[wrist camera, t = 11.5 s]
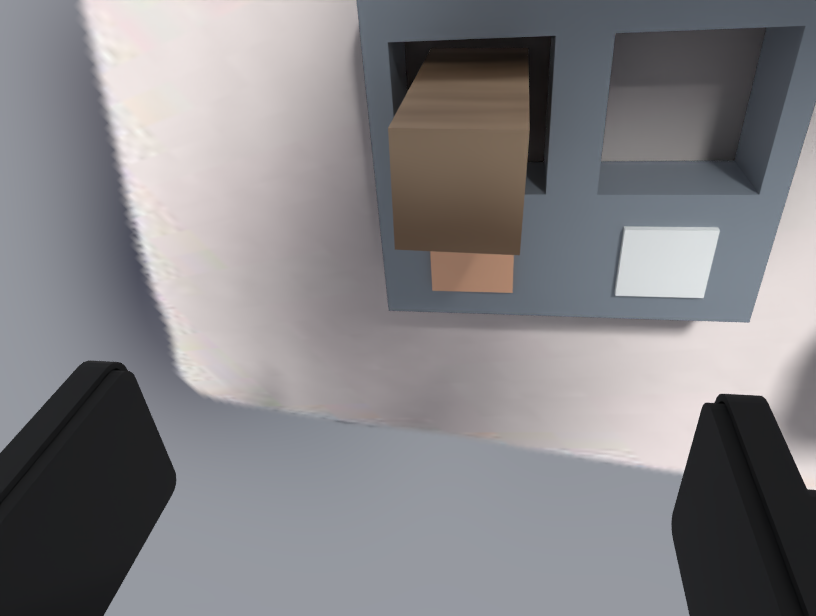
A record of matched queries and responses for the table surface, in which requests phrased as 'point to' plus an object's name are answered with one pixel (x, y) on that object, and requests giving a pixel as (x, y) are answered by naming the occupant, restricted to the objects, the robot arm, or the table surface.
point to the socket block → (605, 167)
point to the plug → (462, 153)
